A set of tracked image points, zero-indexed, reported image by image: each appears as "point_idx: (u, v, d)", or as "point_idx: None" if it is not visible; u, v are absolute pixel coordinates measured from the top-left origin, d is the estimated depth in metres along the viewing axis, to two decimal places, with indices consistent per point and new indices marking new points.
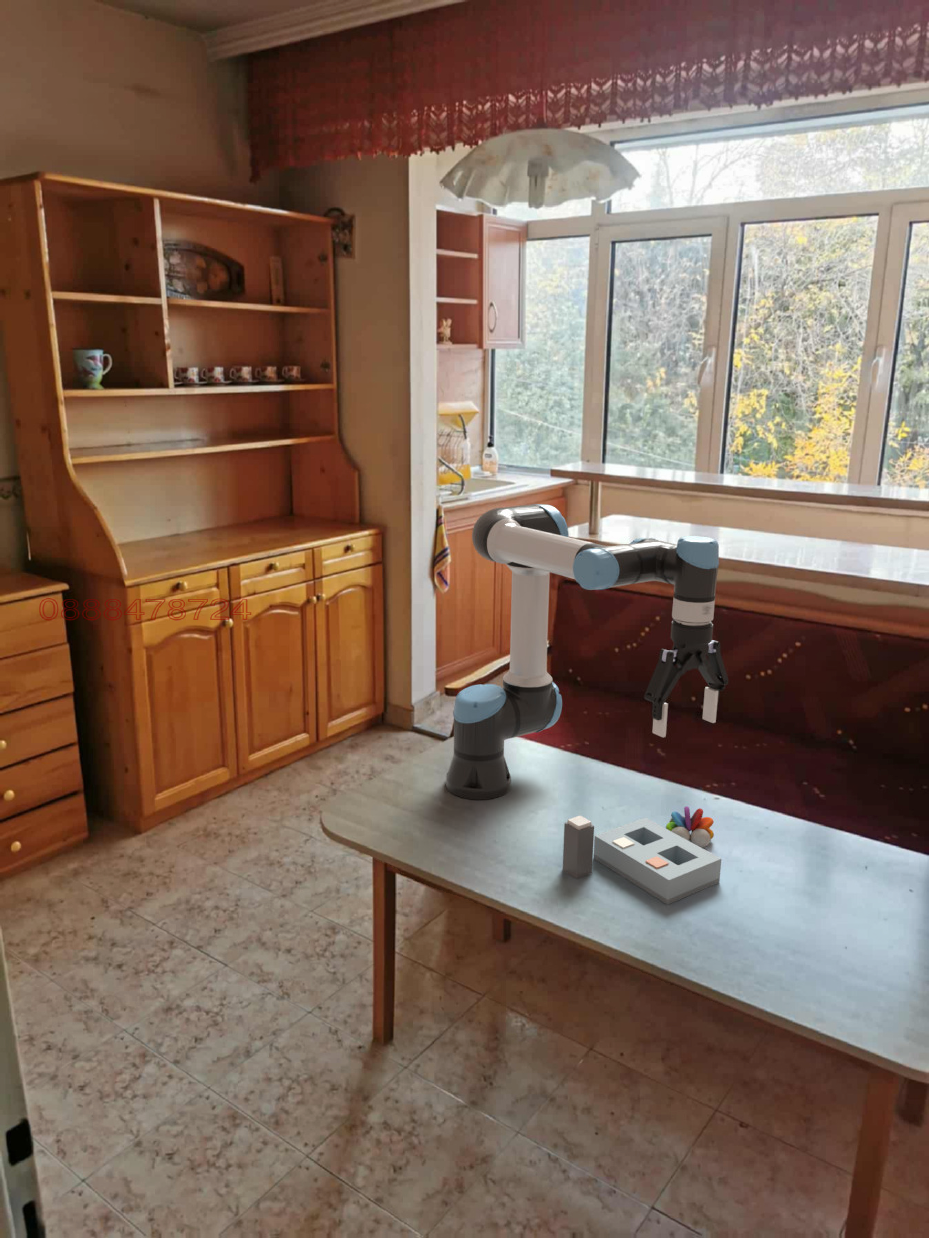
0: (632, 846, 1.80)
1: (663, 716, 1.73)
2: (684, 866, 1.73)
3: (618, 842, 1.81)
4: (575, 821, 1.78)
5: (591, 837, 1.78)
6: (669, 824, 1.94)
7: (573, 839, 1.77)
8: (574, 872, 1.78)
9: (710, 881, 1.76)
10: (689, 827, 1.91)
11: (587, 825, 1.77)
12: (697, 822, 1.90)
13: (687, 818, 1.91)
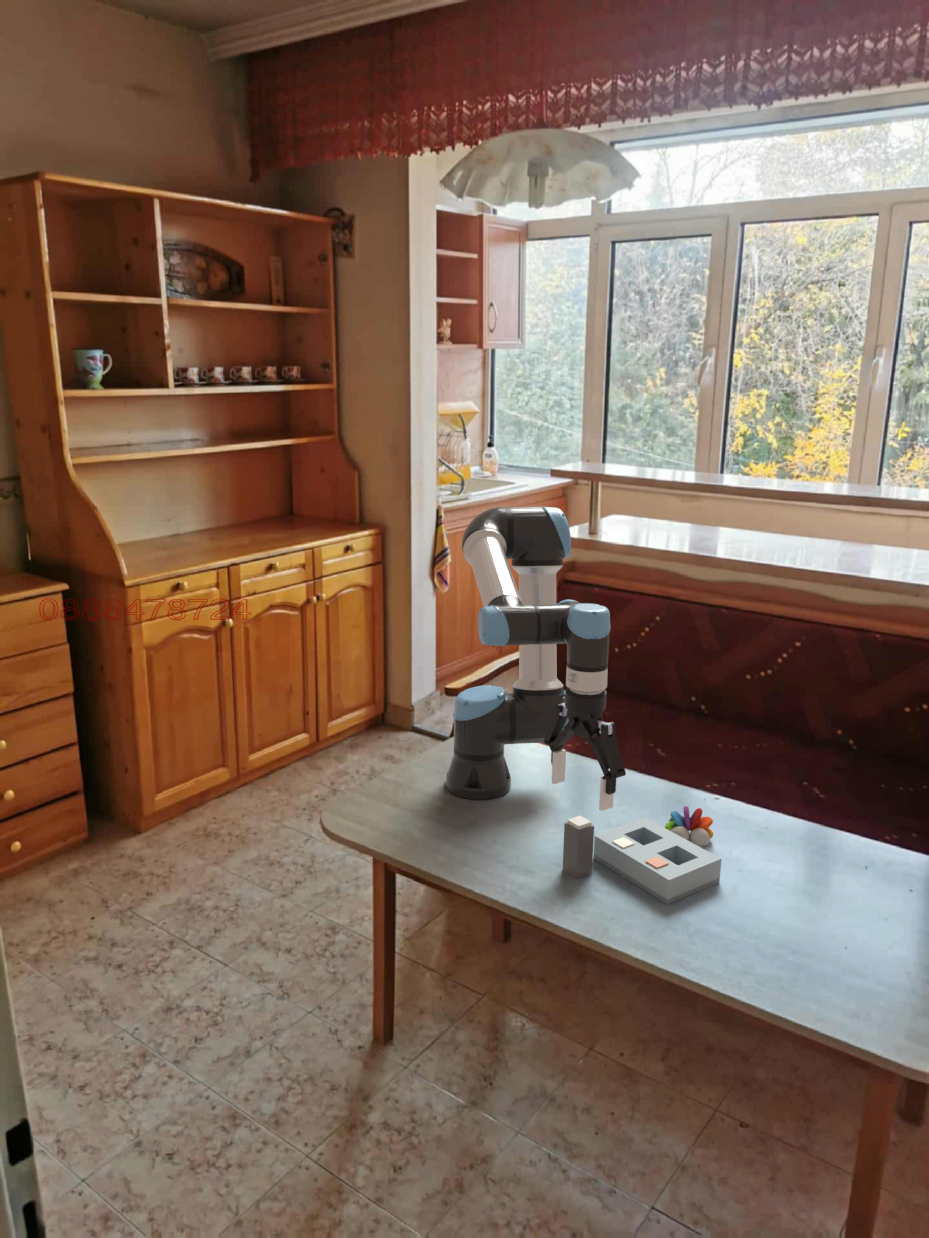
0: (632, 846, 1.80)
1: None
2: (684, 866, 1.73)
3: (618, 842, 1.81)
4: (575, 821, 1.78)
5: (591, 837, 1.78)
6: (668, 824, 1.94)
7: (573, 839, 1.77)
8: (574, 872, 1.78)
9: (710, 881, 1.76)
10: (689, 827, 1.91)
11: (587, 825, 1.77)
12: (696, 821, 1.91)
13: (687, 817, 1.91)
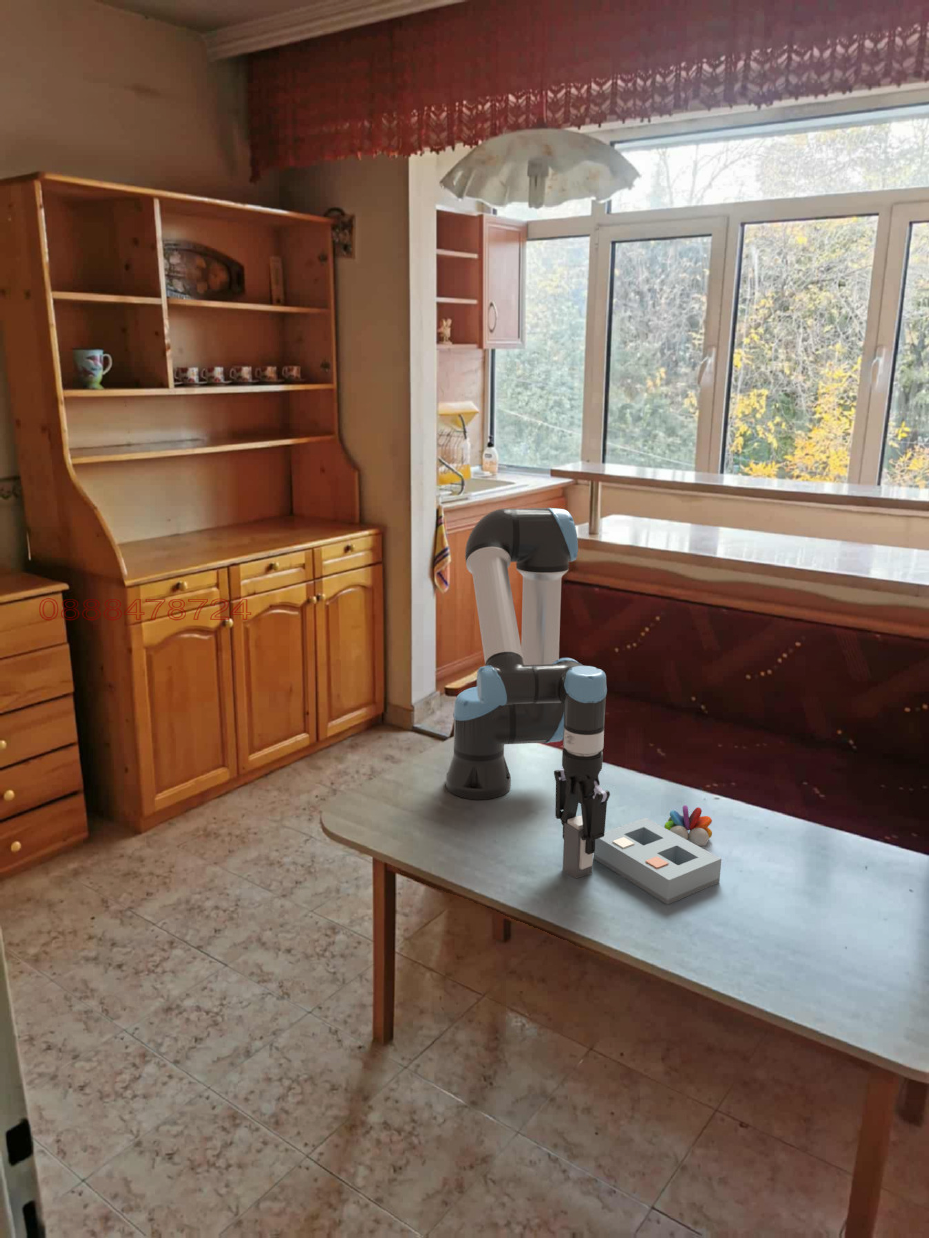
0: (632, 846, 1.80)
1: None
2: (684, 866, 1.73)
3: (618, 842, 1.81)
4: (575, 821, 1.78)
5: None
6: (667, 823, 1.94)
7: (573, 839, 1.77)
8: (574, 872, 1.78)
9: (710, 881, 1.76)
10: (688, 826, 1.91)
11: None
12: (695, 821, 1.91)
13: (686, 817, 1.91)
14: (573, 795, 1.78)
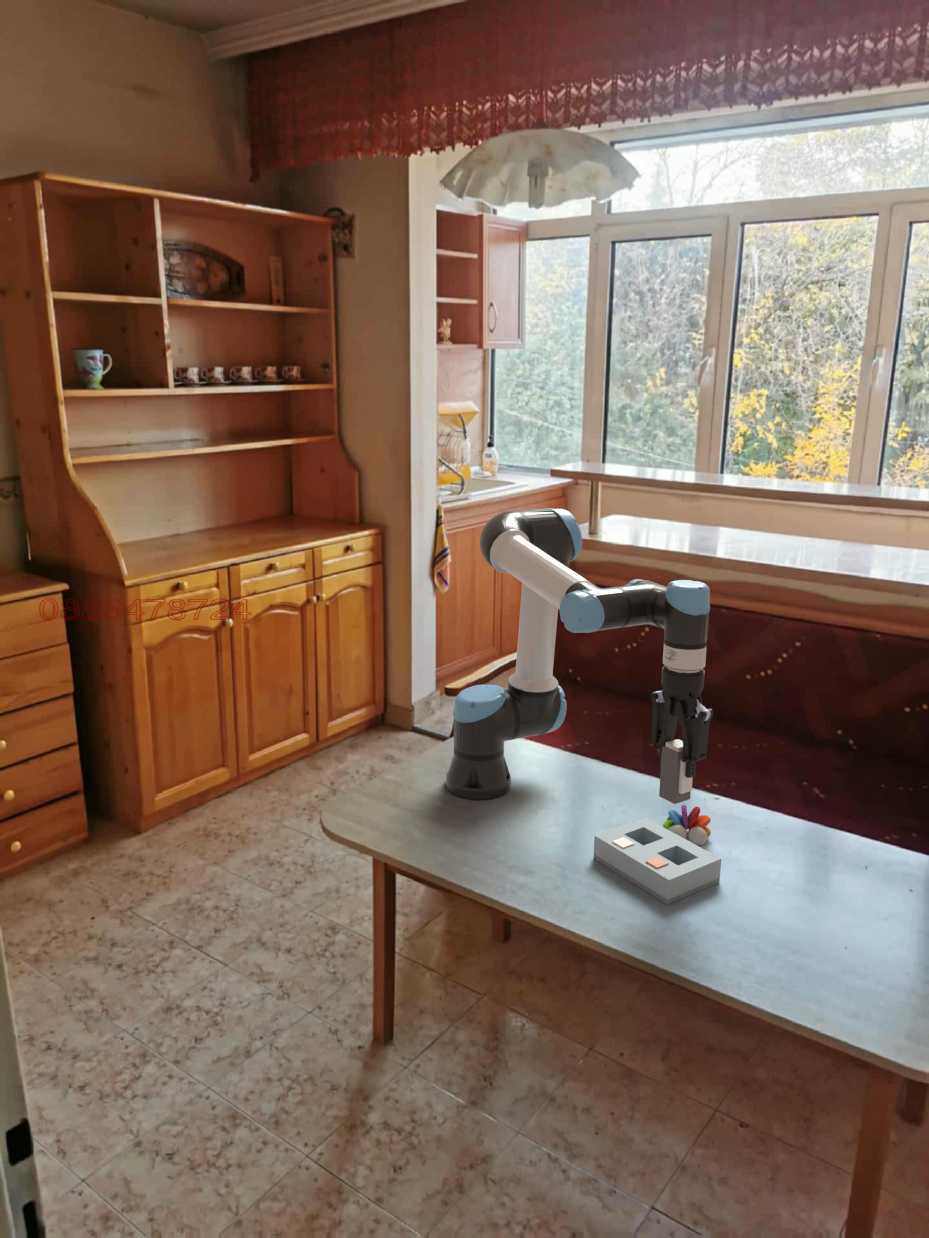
0: (632, 846, 1.80)
1: None
2: (684, 866, 1.73)
3: (618, 842, 1.81)
4: (674, 744, 1.71)
5: None
6: (666, 822, 1.95)
7: (672, 763, 1.70)
8: (672, 797, 1.71)
9: (710, 881, 1.76)
10: (687, 825, 1.92)
11: None
12: (694, 820, 1.91)
13: (684, 816, 1.91)
14: (672, 717, 1.71)
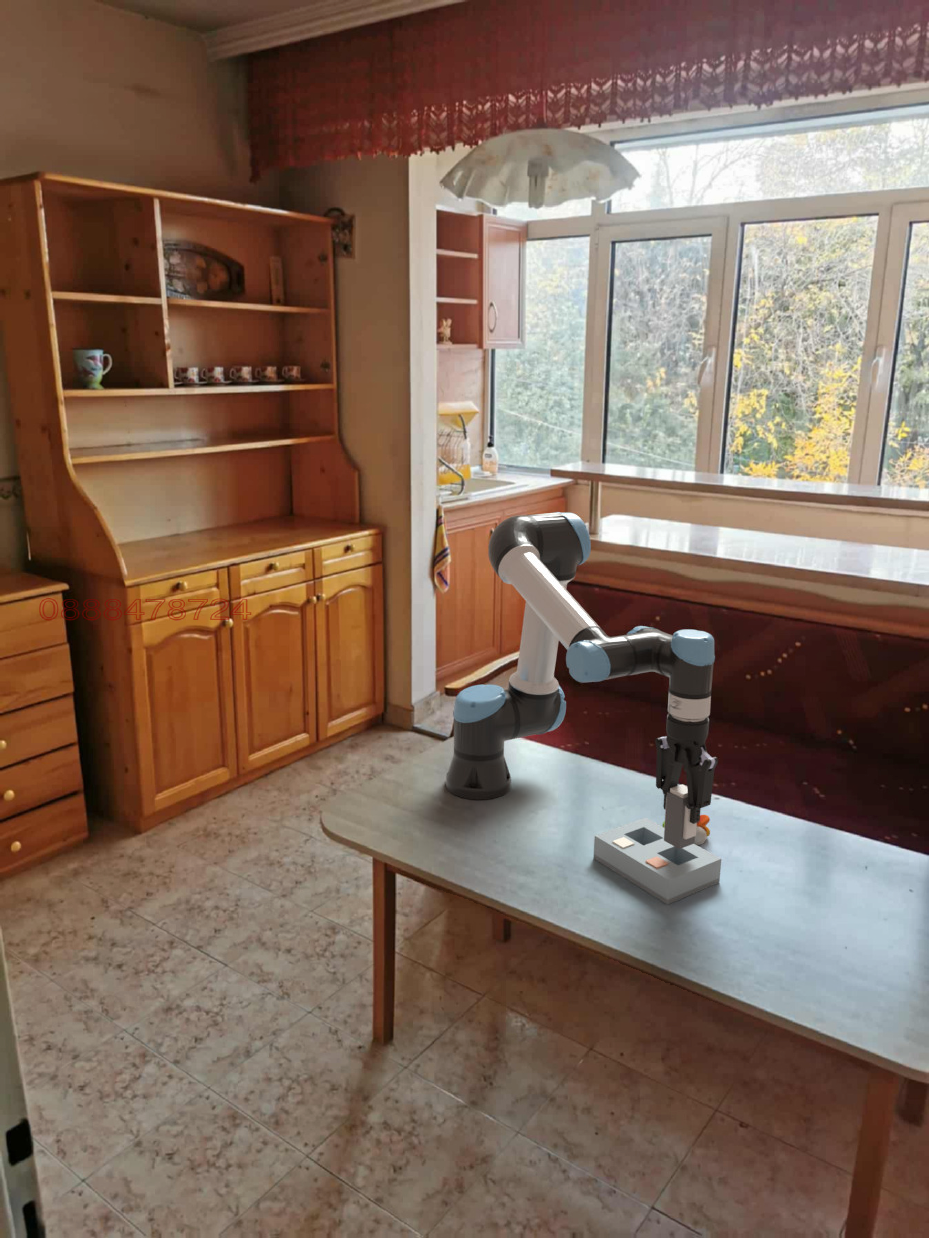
0: (632, 846, 1.80)
1: None
2: (684, 866, 1.73)
3: (618, 842, 1.81)
4: (679, 790, 1.73)
5: None
6: None
7: (677, 809, 1.73)
8: (677, 842, 1.74)
9: (710, 881, 1.76)
10: None
11: None
12: None
13: None
14: (676, 763, 1.73)
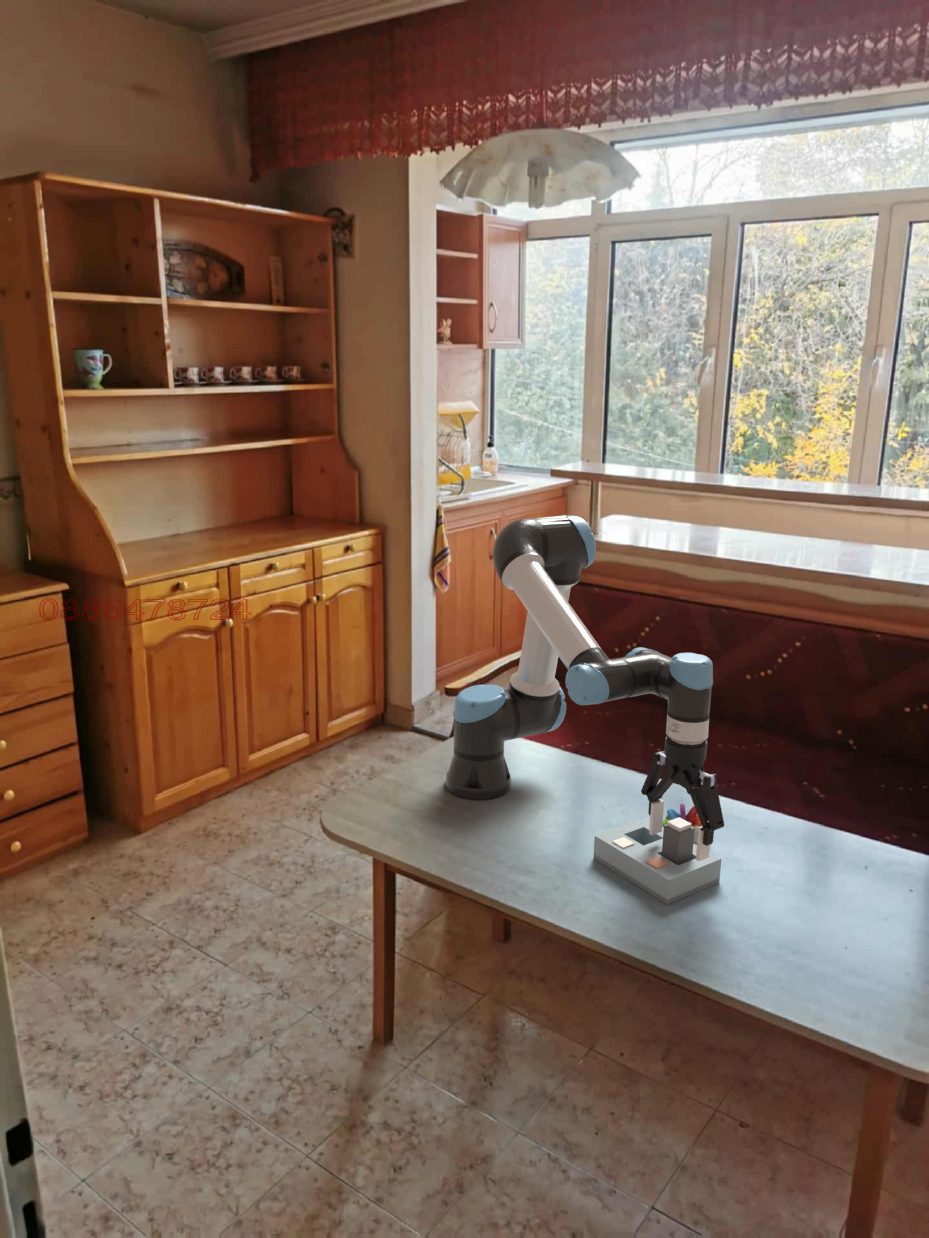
0: (632, 846, 1.80)
1: None
2: (684, 866, 1.73)
3: (618, 842, 1.81)
4: (676, 823, 1.75)
5: (691, 839, 1.76)
6: (665, 821, 1.95)
7: (674, 842, 1.75)
8: None
9: (710, 881, 1.76)
10: None
11: (688, 826, 1.75)
12: (693, 819, 1.92)
13: (683, 815, 1.92)
14: (669, 781, 1.75)
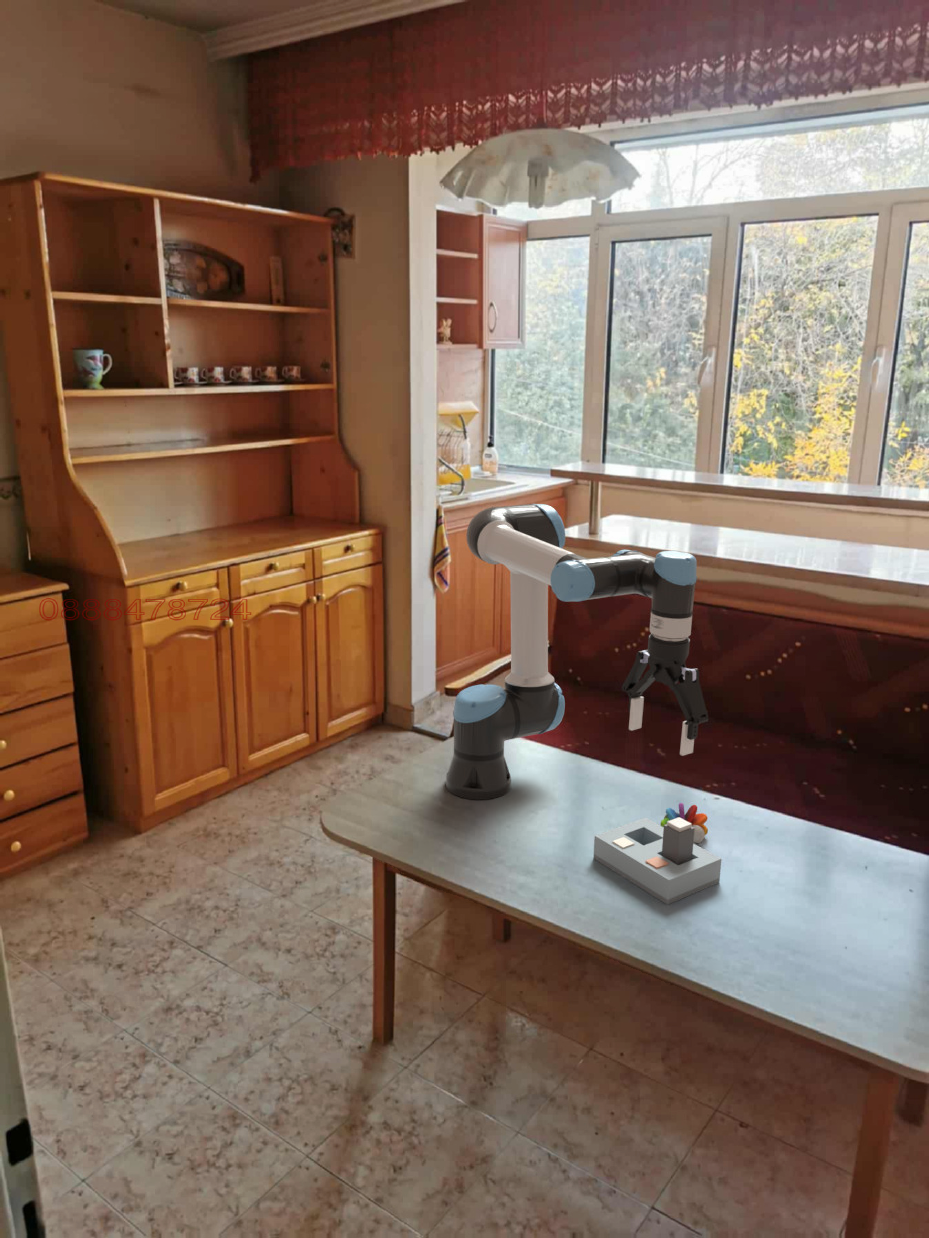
0: (632, 846, 1.80)
1: None
2: (684, 866, 1.73)
3: (618, 842, 1.81)
4: (676, 823, 1.75)
5: (691, 839, 1.76)
6: (664, 820, 1.95)
7: (674, 842, 1.75)
8: None
9: (710, 881, 1.76)
10: None
11: (688, 826, 1.75)
12: (691, 818, 1.92)
13: (682, 814, 1.92)
14: (651, 678, 1.78)
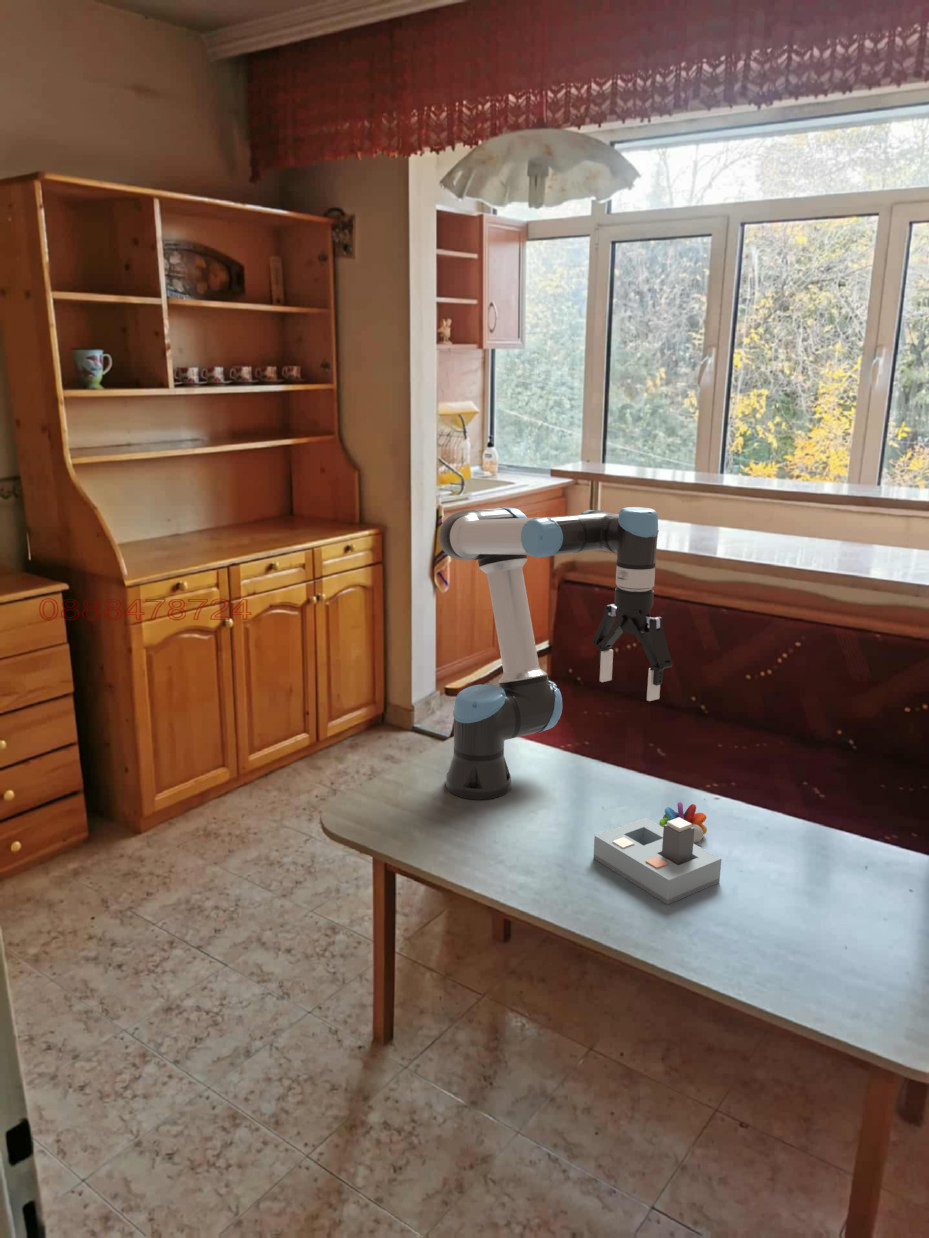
0: (632, 846, 1.80)
1: None
2: (684, 866, 1.73)
3: (618, 842, 1.81)
4: (676, 823, 1.75)
5: (691, 839, 1.76)
6: (662, 820, 1.96)
7: (674, 842, 1.75)
8: None
9: (710, 881, 1.76)
10: None
11: (688, 826, 1.75)
12: (690, 818, 1.92)
13: (681, 813, 1.92)
14: (619, 630, 1.87)
